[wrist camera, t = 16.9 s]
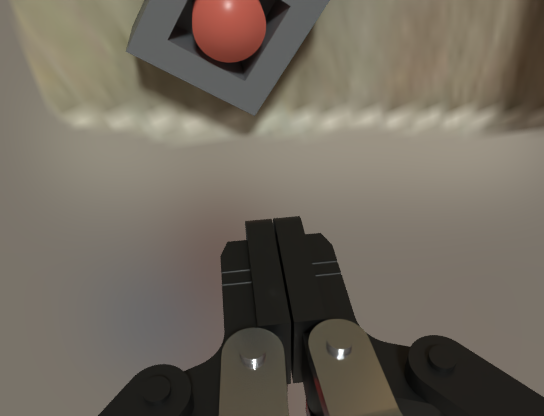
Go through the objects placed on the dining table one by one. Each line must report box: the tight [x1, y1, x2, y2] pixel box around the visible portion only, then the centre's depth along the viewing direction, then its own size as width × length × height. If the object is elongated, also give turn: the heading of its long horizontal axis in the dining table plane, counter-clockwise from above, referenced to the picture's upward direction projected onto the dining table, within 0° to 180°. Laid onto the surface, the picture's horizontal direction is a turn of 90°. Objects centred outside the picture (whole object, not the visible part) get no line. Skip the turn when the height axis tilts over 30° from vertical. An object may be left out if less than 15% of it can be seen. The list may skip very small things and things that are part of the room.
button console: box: [126, 0, 330, 116], centre depth 29 cm, size 8×8×4 cm
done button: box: [192, 0, 266, 63], centre depth 28 cm, size 4×4×3 cm
